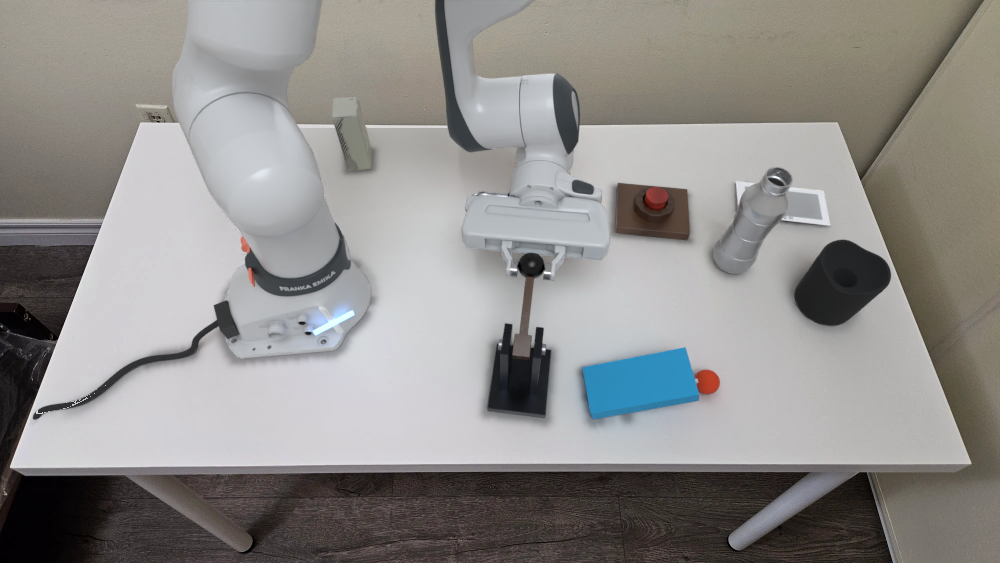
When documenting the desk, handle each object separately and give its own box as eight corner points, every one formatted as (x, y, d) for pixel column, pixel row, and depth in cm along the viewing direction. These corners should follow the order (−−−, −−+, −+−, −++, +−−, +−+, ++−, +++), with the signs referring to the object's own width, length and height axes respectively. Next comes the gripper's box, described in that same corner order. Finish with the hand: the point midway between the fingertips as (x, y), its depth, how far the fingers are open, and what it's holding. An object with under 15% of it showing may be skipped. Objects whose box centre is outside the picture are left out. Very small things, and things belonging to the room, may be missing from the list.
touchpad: (733, 185, 103) (737, 176, 101) (820, 194, 101) (826, 186, 99) (736, 219, 98) (740, 210, 97) (827, 229, 97) (833, 221, 95)
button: (644, 209, 96) (646, 202, 94) (643, 192, 98) (646, 185, 96) (665, 211, 95) (668, 204, 94) (665, 194, 97) (667, 187, 96)
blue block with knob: (597, 429, 83) (726, 407, 80) (590, 414, 77) (728, 389, 74) (589, 384, 87) (712, 361, 83) (582, 367, 81) (713, 341, 78)
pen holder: (807, 333, 86) (839, 298, 78) (781, 281, 91) (809, 243, 83) (865, 324, 87) (904, 289, 79) (836, 273, 92) (869, 235, 84)
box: (349, 152, 108) (331, 96, 97) (372, 150, 108) (358, 94, 97) (348, 172, 105) (330, 117, 94) (372, 170, 105) (357, 115, 94)
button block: (615, 233, 97) (618, 220, 94) (616, 189, 102) (619, 175, 99) (687, 240, 96) (693, 227, 93) (684, 195, 101) (690, 181, 98)
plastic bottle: (747, 246, 95) (799, 160, 78) (752, 281, 92) (808, 197, 75) (707, 243, 96) (751, 156, 79) (711, 277, 92) (758, 194, 75)
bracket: (497, 347, 85) (496, 302, 75) (550, 353, 85) (557, 309, 74) (487, 411, 80) (485, 373, 69) (544, 418, 79) (551, 381, 69)
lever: (519, 256, 79) (519, 247, 75) (545, 259, 79) (546, 249, 75) (507, 358, 75) (506, 353, 71) (534, 361, 74) (535, 357, 71)
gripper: (467, 175, 81) (450, 255, 74) (613, 188, 80) (611, 270, 72) (469, 204, 86) (454, 281, 79) (606, 217, 85) (604, 296, 77)
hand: (530, 276), depth 76 cm, fingers closed on lever, 3 cm apart
